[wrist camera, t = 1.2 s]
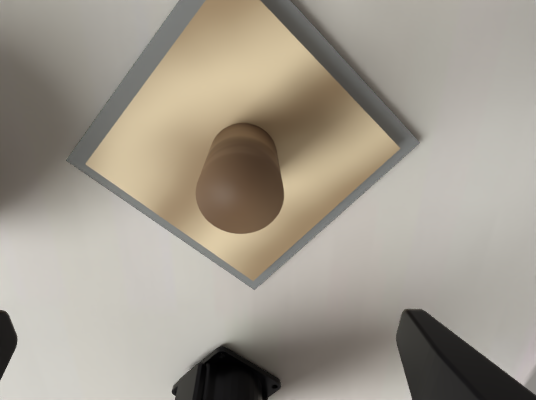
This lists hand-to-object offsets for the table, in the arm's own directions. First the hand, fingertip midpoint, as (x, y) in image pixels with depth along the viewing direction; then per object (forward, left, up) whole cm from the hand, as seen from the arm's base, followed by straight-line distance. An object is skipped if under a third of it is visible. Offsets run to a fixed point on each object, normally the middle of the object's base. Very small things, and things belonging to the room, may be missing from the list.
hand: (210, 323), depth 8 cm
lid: (0, 0, -13) cm, 13 cm away
